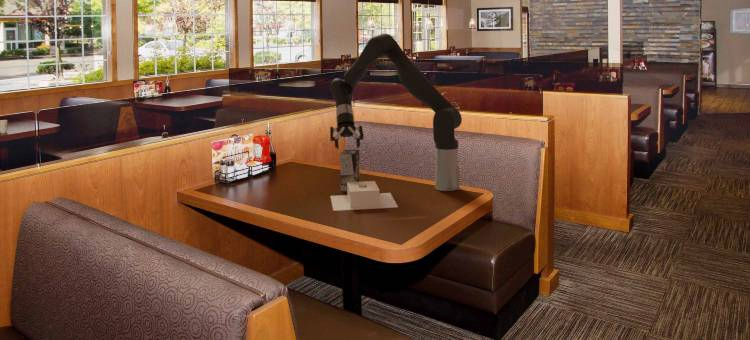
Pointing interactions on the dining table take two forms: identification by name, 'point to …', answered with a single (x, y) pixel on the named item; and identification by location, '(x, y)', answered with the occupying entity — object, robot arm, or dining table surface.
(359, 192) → the beige cube with notch
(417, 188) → the dining table surface
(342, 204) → the mat
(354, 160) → the grey tall block
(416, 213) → the dining table surface
